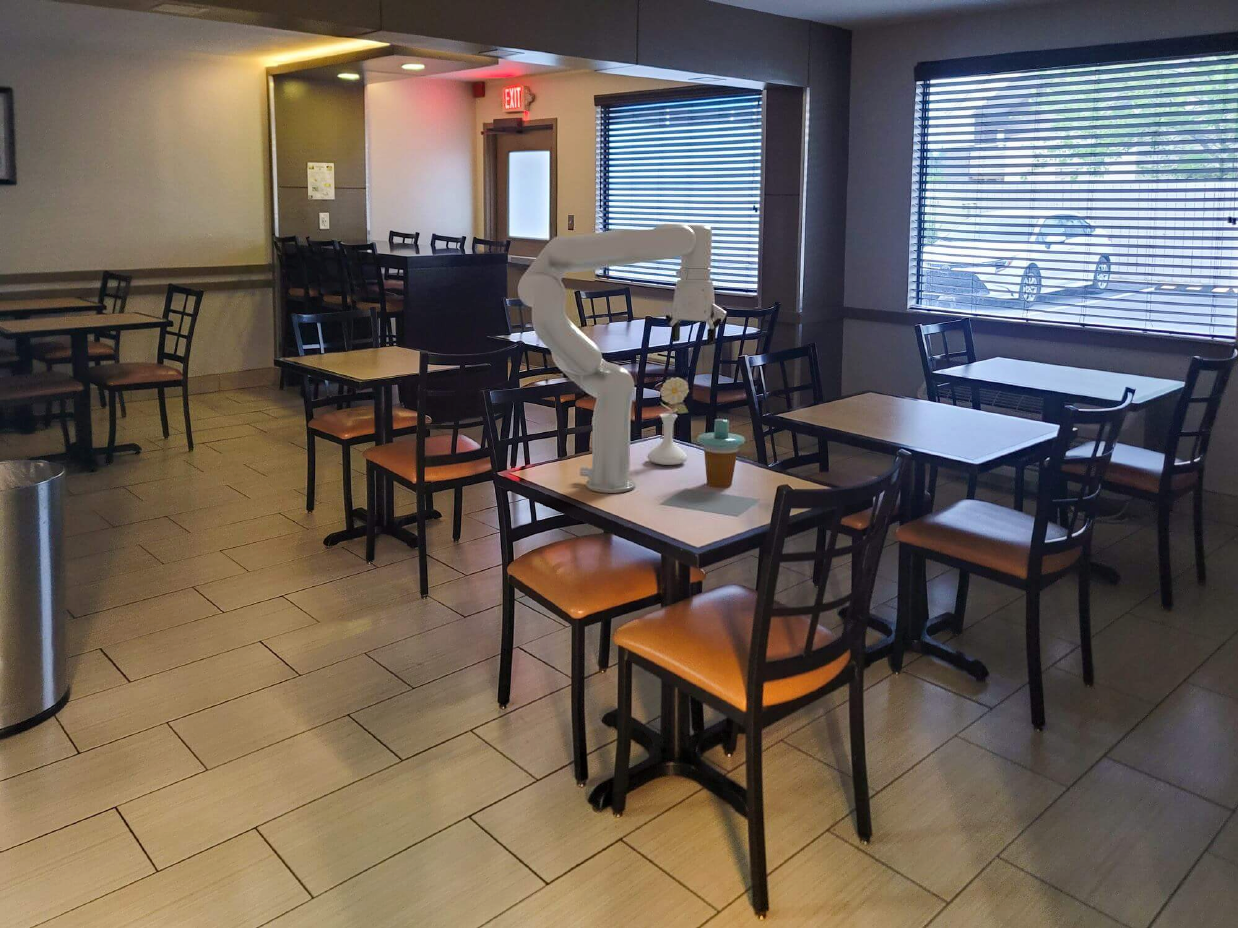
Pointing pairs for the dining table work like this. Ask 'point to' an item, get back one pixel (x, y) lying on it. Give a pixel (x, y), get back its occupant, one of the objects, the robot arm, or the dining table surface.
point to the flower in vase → (670, 424)
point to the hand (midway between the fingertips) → (693, 342)
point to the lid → (721, 436)
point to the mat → (710, 502)
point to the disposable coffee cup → (720, 465)
